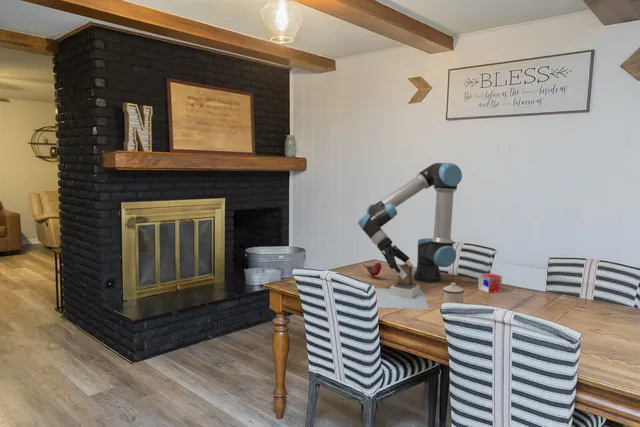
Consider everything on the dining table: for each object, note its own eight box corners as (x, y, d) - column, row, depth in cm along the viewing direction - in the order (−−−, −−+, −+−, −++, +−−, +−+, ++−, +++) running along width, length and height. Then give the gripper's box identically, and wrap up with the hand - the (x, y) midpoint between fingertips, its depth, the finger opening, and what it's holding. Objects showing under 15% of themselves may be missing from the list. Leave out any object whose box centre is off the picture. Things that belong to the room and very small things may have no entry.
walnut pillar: (402, 284, 232) (402, 262, 231) (411, 285, 229) (412, 264, 228) (398, 286, 228) (398, 264, 227) (408, 287, 225) (408, 265, 224)
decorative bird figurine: (379, 281, 256) (379, 263, 255) (360, 274, 271) (361, 257, 270) (383, 280, 258) (383, 263, 256) (364, 274, 273) (365, 257, 272)
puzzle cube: (501, 291, 238) (501, 276, 237) (488, 292, 235) (489, 277, 234) (490, 287, 245) (491, 272, 245) (478, 288, 243) (478, 273, 242)
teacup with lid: (467, 310, 207) (468, 284, 205) (451, 313, 203) (452, 286, 202) (449, 303, 218) (450, 278, 216) (433, 305, 214) (434, 280, 213)
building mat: (421, 291, 237) (421, 289, 237) (429, 311, 205) (429, 309, 205) (373, 289, 240) (374, 288, 239) (374, 308, 208) (374, 307, 208)
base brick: (398, 289, 237) (398, 279, 236) (419, 293, 231) (419, 282, 230) (390, 295, 227) (390, 284, 227) (411, 298, 222) (412, 287, 221)
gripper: (386, 242, 245) (413, 274, 239) (366, 249, 224) (395, 284, 218) (396, 233, 242) (423, 265, 236) (376, 239, 221) (406, 274, 214)
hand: (410, 274), depth 227 cm, fingers open, 13 cm apart
